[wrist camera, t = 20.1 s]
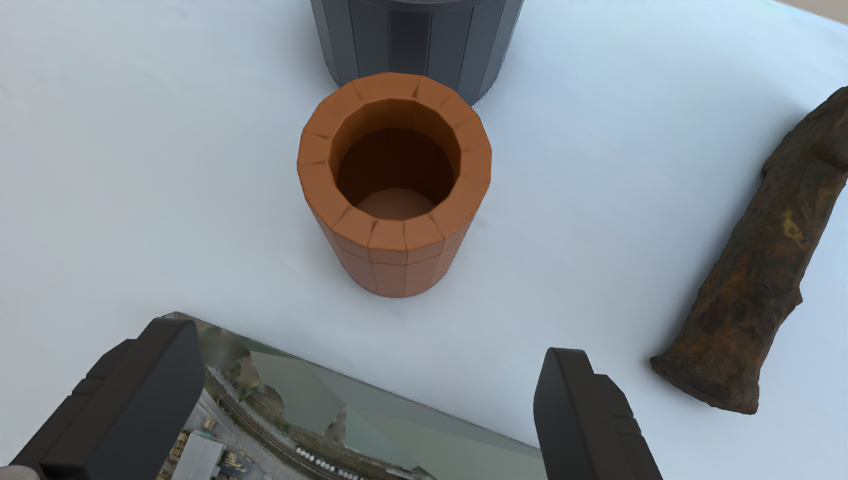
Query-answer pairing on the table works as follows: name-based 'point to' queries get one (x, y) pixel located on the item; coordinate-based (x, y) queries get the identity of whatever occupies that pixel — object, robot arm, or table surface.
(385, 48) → the tin
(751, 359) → the hand tool
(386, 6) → the tin lid
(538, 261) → the table surface
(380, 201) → the jar
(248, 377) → the model
